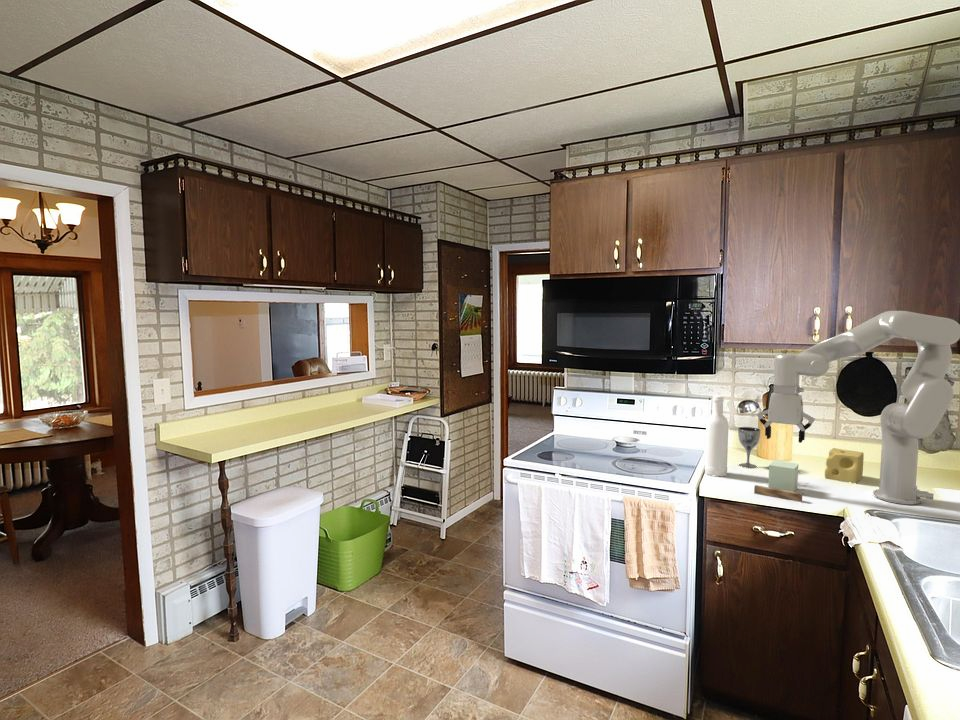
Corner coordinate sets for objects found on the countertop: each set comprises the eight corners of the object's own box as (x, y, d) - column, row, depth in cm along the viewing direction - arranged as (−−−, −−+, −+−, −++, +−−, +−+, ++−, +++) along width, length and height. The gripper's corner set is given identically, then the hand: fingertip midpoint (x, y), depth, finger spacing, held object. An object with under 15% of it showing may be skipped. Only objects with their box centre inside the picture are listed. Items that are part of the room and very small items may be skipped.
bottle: (704, 469, 215) (706, 394, 213) (726, 471, 213) (728, 394, 210) (704, 475, 208) (707, 397, 205) (727, 477, 205) (730, 398, 203)
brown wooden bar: (802, 500, 180) (802, 493, 180) (801, 502, 179) (801, 494, 178) (755, 492, 189) (755, 485, 188) (754, 493, 187) (754, 486, 187)
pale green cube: (797, 488, 192) (798, 463, 191) (793, 494, 186) (794, 468, 185) (772, 484, 197) (773, 460, 196) (768, 489, 191) (769, 465, 190)
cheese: (824, 478, 204) (825, 452, 203) (831, 472, 211) (832, 446, 210) (857, 484, 196) (859, 457, 195) (864, 478, 204) (865, 451, 203)
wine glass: (756, 469, 215) (758, 432, 214) (735, 466, 220) (736, 429, 219) (760, 465, 221) (762, 428, 220) (739, 462, 226) (740, 426, 225)
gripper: (817, 391, 184) (815, 441, 185) (760, 387, 194) (759, 434, 196) (813, 393, 178) (811, 445, 179) (755, 389, 189) (754, 438, 190)
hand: (784, 440), depth 188 cm, fingers open, 9 cm apart
